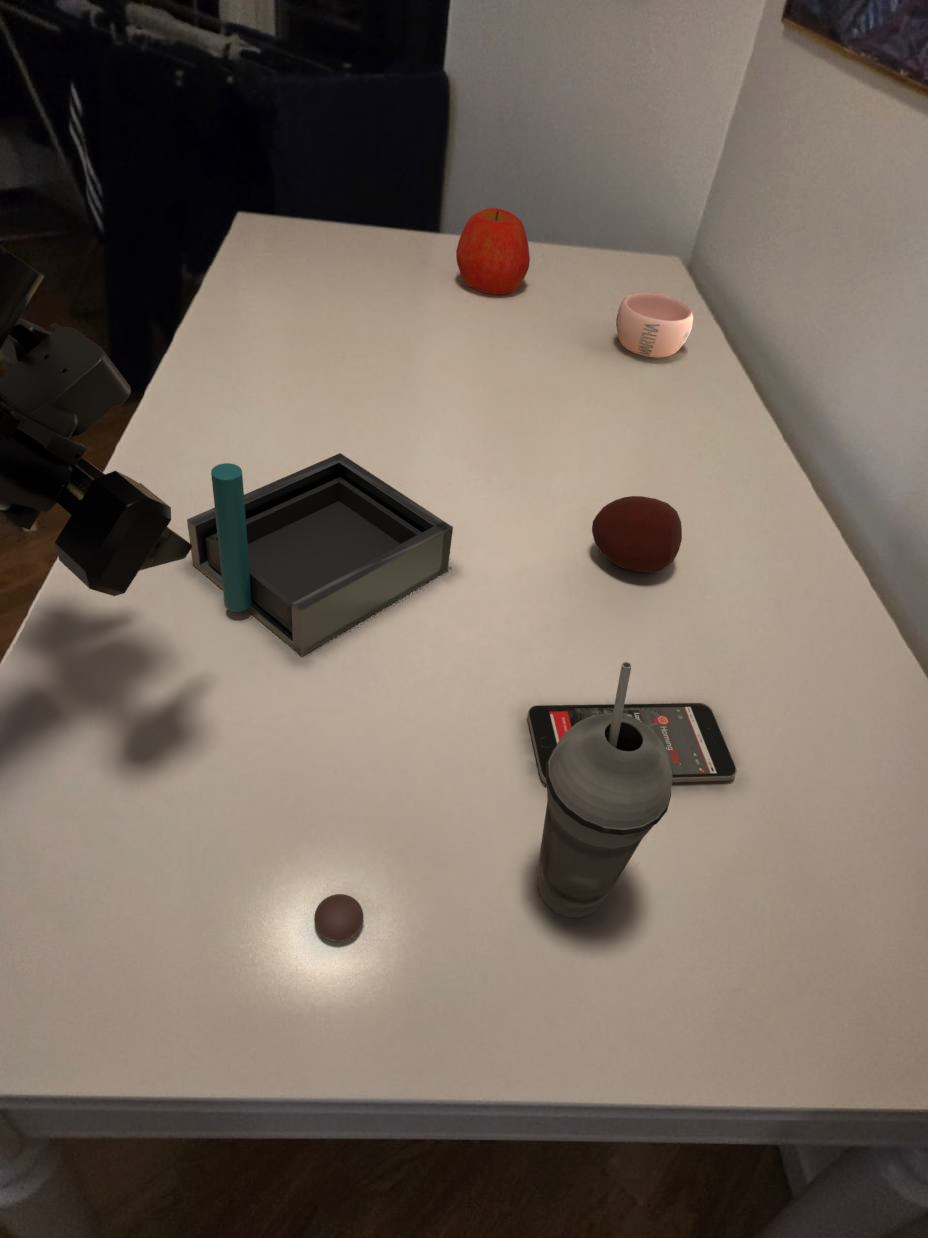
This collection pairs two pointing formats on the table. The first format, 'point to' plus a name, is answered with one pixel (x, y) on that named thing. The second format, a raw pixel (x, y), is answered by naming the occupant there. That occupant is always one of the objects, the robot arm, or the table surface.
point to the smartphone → (676, 724)
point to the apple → (493, 251)
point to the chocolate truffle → (338, 917)
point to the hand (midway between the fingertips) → (148, 519)
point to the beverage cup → (599, 805)
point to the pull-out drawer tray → (360, 587)
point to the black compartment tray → (294, 541)
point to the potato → (638, 533)
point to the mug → (653, 324)
